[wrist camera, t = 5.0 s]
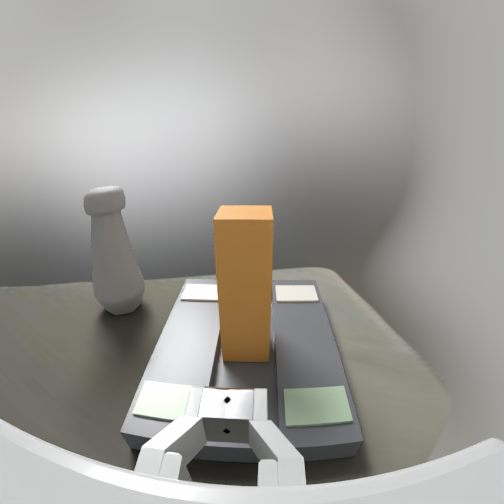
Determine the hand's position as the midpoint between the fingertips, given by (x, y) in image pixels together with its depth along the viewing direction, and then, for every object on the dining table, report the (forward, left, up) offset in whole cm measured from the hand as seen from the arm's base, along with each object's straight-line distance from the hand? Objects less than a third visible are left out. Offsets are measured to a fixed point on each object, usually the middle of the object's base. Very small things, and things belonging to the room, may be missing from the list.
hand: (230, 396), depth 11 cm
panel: (0, +10, -7) cm, 13 cm away
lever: (0, +11, -6) cm, 12 cm away
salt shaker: (-14, +18, -8) cm, 24 cm away
